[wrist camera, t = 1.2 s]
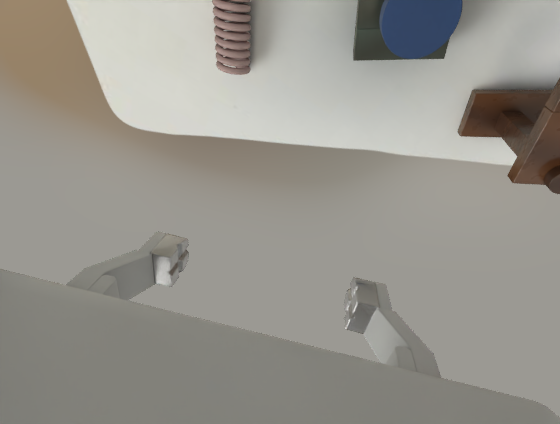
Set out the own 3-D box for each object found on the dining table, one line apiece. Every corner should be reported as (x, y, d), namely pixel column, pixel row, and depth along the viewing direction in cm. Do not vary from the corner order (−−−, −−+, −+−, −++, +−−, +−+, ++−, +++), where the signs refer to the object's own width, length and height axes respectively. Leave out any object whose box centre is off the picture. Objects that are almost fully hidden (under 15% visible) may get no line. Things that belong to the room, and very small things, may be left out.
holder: (362, -52, 32) (364, -53, 28) (462, -61, 30) (478, -64, 26) (353, 50, 38) (353, 60, 34) (434, 48, 36) (444, 58, 33)
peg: (378, -30, 32) (388, -27, 23) (437, -35, 31) (474, -33, 22) (370, 33, 36) (376, 59, 27) (422, 31, 35) (448, 58, 26)
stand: (500, 11, 33) (585, 40, 21) (604, 6, 31) (763, 35, 19) (457, 131, 42) (498, 199, 30) (534, 133, 40) (611, 206, 28)
